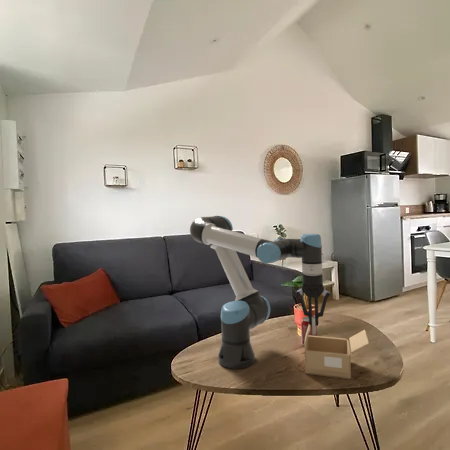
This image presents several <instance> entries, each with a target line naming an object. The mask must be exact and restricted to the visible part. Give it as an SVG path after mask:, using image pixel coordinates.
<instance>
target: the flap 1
mask: <svg viewBox="0 0 450 450" xmlns="http://www.w3.org/2000/svg"><path fill="white" fill-rule="evenodd" d="M310 327H311V325H308V329H307V332H306V336H305V342H304V345H303V349H305V346H306V342H307V339H308V336H309V332H310Z"/></svg>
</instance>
